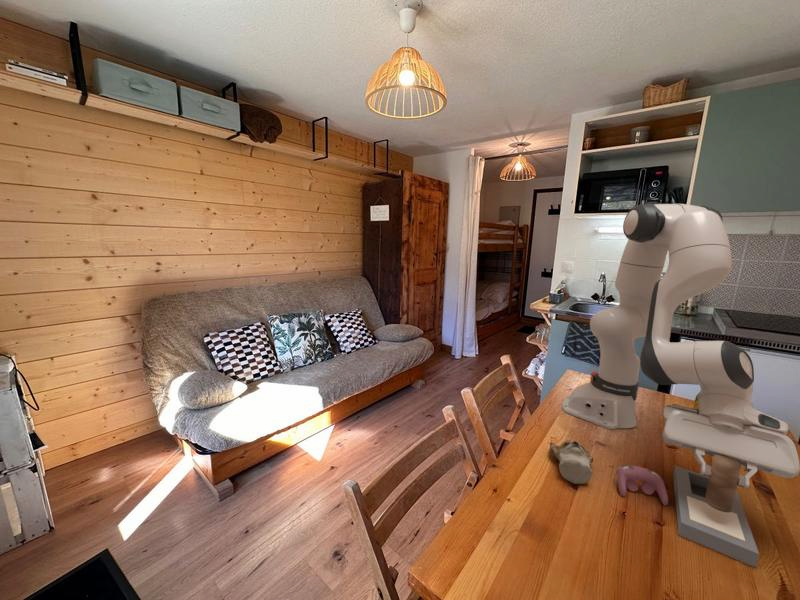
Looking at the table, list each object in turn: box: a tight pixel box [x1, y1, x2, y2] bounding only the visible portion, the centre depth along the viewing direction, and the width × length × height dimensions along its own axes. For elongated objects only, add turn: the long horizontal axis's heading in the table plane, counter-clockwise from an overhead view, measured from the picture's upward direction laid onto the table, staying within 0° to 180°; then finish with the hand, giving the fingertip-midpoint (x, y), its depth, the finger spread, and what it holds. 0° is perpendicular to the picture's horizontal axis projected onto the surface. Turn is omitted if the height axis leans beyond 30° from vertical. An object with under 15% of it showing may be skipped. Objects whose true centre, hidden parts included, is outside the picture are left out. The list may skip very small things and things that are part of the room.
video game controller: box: [615, 465, 669, 506], centre depth 78 cm, size 10×5×7 cm, turn 72°
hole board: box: [672, 465, 760, 568], centre depth 72 cm, size 11×22×3 cm, turn 143°
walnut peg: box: [705, 455, 742, 512], centre depth 66 cm, size 4×4×10 cm
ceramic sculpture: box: [549, 439, 594, 485], centre depth 85 cm, size 11×9×15 cm
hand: (723, 480), depth 66 cm, fingers closed on walnut peg, 4 cm apart
